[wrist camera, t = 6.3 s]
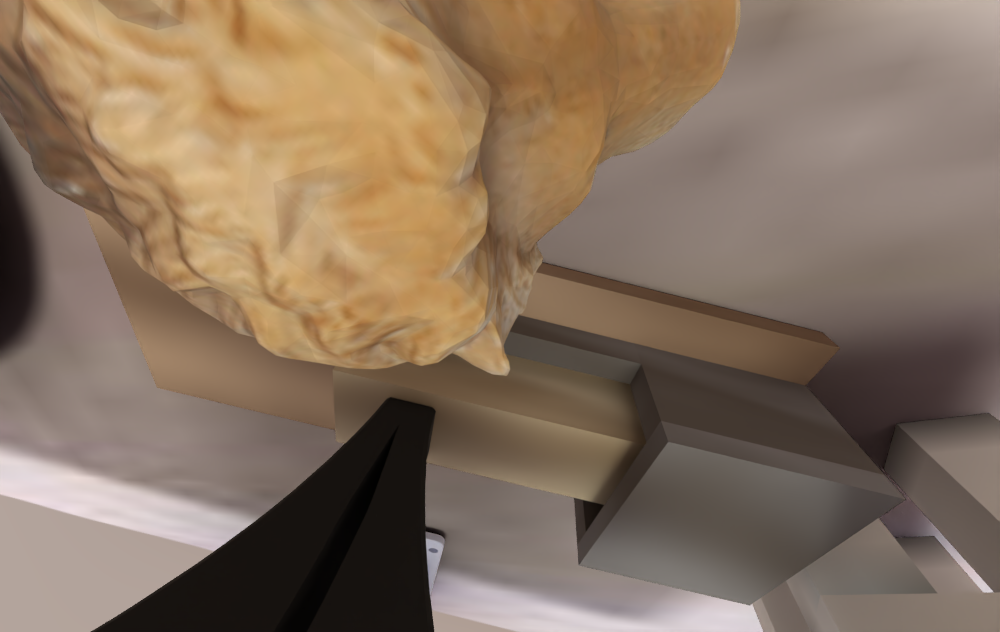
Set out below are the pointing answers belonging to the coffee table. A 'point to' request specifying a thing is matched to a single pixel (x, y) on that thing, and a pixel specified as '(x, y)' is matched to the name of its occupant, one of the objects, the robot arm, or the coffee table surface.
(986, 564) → the toy llama
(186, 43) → the lion figurine
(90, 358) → the coffee table surface
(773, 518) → the cradle
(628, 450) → the slat
